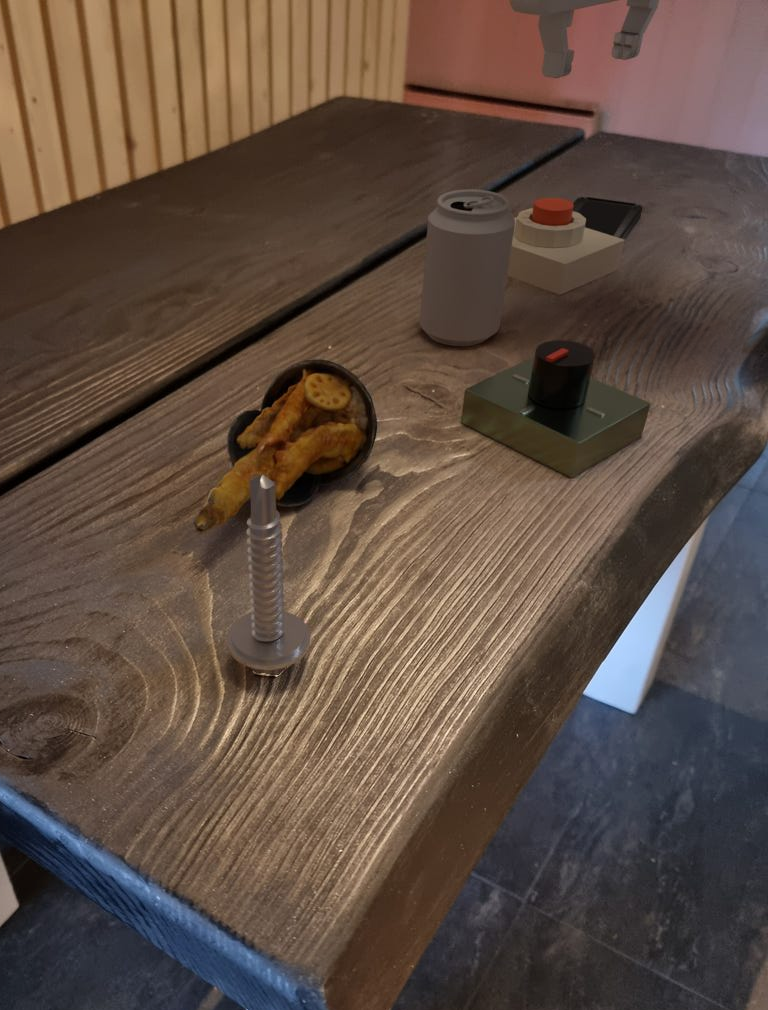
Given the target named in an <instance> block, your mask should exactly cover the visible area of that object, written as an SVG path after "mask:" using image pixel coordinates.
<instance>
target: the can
mask: <svg viewBox="0 0 768 1010" xmlns="http://www.w3.org/2000/svg"><path fill="white" fill-rule="evenodd" d="M436 204H437V207H436V208H435V209H433V210H432V212H431V213H430V214H429V215H428V217H427V228H426V229H427V230H426V238H425V240H426V242H425V250H424V251H425V253H424V262H423V263H424V265H423V273H422V274H423V275H422V287H421V299H420V310H419V326H420V328H421V329H422V330H423V331H424V332H425V333H426V335H427V336H429V338H430V339H431V340H433V341H435V342H437V343H440V344H443V345H447V346H453V347H469V346H475V345H478V344H481V343H484V342H485V341H487V340H489V338H490V337H492V336H494V335H495V334H496V333H497V332H498V331H499V329H500V328H501V321H502V316H503V315H502V314H503V309H504V308H503V307H504V301H505V295H506V287H507V281H508V276H507V274H508V268H509V261H510V254H511V247H512V241H513V234H514V227H515V220H514V218H515V216H514V215H513V214H512V212H511V211H510V210H509V208H510V206H511V201H510V199H509V198H507V197H506V196H505V195H503V194H500V193H498V192H495V191H491V190H485V189H484V190H483V189H457V190H451V191H447V192H444V193H442V194H441V195H440V196H439V197H438V198H437V199H436Z"/></svg>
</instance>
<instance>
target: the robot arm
mask: <svg viewBox="0 0 768 1010" xmlns="http://www.w3.org/2000/svg"><path fill="white" fill-rule="evenodd" d="M618 1H619V0H509V3H510V6H511V8H512V10H513V12H516V13H519V14H520V13H521V14H527V15H534V16H539V18H538V24H537V27H538V31H539V35H540V40H541V43H542V48H543V51H544V53H543V59H542V67H541V72H542V75H543V77H546V78H551V79H560V78H562V77H566V76H568V75H570V73H571V72H572V68H573V65H572V63H573V61H574V56H575V50H574V49H569V41H568V40H569V38H568V28H570V27H572V25H573V20H574V14H575V10H580V9H585V8H591V7H594V6H599V5H603V4H608V3H609V4H610V3H613V2H618ZM659 2H660V0H626V6H627V7H629V8H628V11H627V13H626V16H625V19H624V21H623V23H622V26H621V29H620V31H618V32H615V33H614V37H613V42H612V44H613V45H612V48H611V56H612V58H614V59H617V60H619V59H620V60H622V61H626V60H631V59H634V58H636V57H638V56H639V54H640V52H641V47H642V42H643V38H644V34H645V33H646V30H647V29H648V27H649V25H650V23H651V21H652V19H653V17H654V15H655V14H656V12H657V9H659Z"/></svg>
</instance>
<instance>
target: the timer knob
mask: <svg viewBox="0 0 768 1010" xmlns="http://www.w3.org/2000/svg"><path fill="white" fill-rule="evenodd" d="M533 357H534V362H533V367H532V373H531V379H530V384H529V390H528V394H529V397H530V398H531V399H532V400H533V401H535V402H536V403H538V404H540V405H543V406H546V407H550V408H558V409H567V408H573V407H577V406H579V405H581V404H583V403H584V401H585V400H586V396H587V392H588V387H589V383H590V378H591V377H592V374H593V369H594V365H595V361H596V352H595V351H594V350H593V349H592V348H591V347H589V346H588V345H586V344H584V343H582V342H581V343H580V342H577V341H574V340H567V339H566V340H565V339H558V340H557V339H555V340H554V339H553V340H547V341H544V342H542V343H540V344H539V345H537V346H536V348H535V351H534V356H533Z"/></svg>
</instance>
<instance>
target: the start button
mask: <svg viewBox="0 0 768 1010" xmlns="http://www.w3.org/2000/svg"><path fill="white" fill-rule="evenodd" d="M573 203H574V202H572V201H571V200H568V199H565V198H559V197H543V198H538V199H536V200H534V202H533V207H532V208H533V212H532V219H531V220H532V222H535V223H538V224H541V225H547V226H563V225H568V224H570V223H571V218H572V213H573V207H574V205H573Z"/></svg>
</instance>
